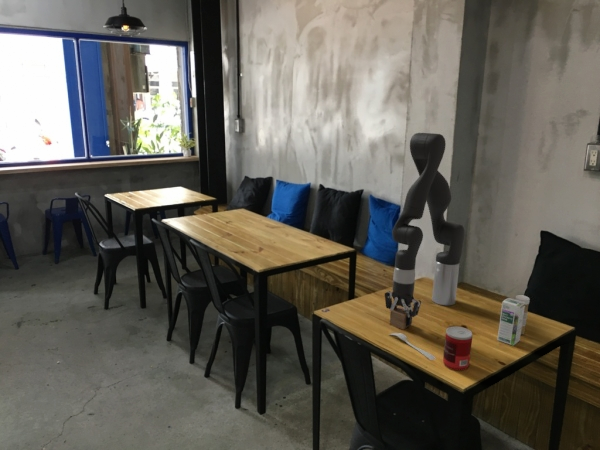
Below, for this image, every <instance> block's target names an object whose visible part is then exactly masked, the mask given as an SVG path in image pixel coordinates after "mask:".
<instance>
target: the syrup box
mask: <svg viewBox="0 0 600 450" xmlns="http://www.w3.org/2000/svg"><path fill="white" fill-rule="evenodd" d="M524 308H525V302H522V301H518V300H515V298H511V297H508V298H506V299H504V300H503V301H502V302H501V309H500V316H499V317H500V318H499V326H498V333H497V342H498V341H499V342H501V343H504V344H507V345H510V346H512V347H514V346H516V344H517V343H518V342H520V339H521V335H522V334H521V328H522V322H523V315H524Z"/></svg>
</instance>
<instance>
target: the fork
mask: <svg viewBox="0 0 600 450" xmlns="http://www.w3.org/2000/svg"><path fill="white" fill-rule="evenodd" d="M389 335H390V336H397V337H398V339H400V340H402V341H403V342H405V343H406V344H407V345H409V346H410V347H412V348H413V349H415V350H417V351H418V352H419V353H421V354H422V355H423V356H425V357H426V358H427V359H428V360H430V361H433V360H436V359H437V358H436V357H435V356H434V355H433V354H431V353H430V352H428V351H426V350H424V349H421V348H419V347H417V346H416V345H413V344H412V343H410V342H409V341H408V337H407V335H406V334H404V333H400V332H393V333H390V334H388V336H389Z"/></svg>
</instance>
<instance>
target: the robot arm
mask: <svg viewBox="0 0 600 450" xmlns="http://www.w3.org/2000/svg"><path fill="white" fill-rule="evenodd" d="M409 150H410V155H411V159H412V161H413V162H414V165H415V167H416V171H417V173H418V175H419V177H418V178H417V179H416V180H415V181H414V182H413V184H412V185H411V186H410V187H409V189H408V191H407V193H406V196H405V199H404V204H403V208H402V211H401V213H400V215H399V217H398V219H397V221H396V222H395V224H394V226H393V228H392V232H391V233H392V234H391V237H392V240H394V242H395V243H397V244H401V245H405V246H407V248H406V249H400V250H398V251H396V253H395V260H394V262H395V263H394V271H393V275H392V277H393V278H392V292H391V290H388V291H387V292H385V293H384V299H385V308H386V309H389V311H390V312H391V311H392V310H394V309H395V308H397V307H402V308H404V310H405V311H406V315H407V317H406V326H408V327H410V326H411V325H412V322H413V318H414V317H416V316H418V314H419V311H420V307H421V303H422V301H421V300H417V299H415V297H414V292H415V281H416V280H415V279H416V261H417V260H416V259H417V256H418V253H419V250H420V247H421V245H422V243H423V240H424V239H423V238H424V233H423V230H422V229H421V228H420V227H419V226H416V225H411V224H410V223H411V222H412V221H413V220H421V219H422V218H423V216H424V213H425V207H426V204H427V207H428V210H429V214H430V215H429V216H430V219H431V220H430V221H431V228H432V235H433V238H434V240H435V242H436V243H438V244H441V245H443V246H444V245H445V246H447V247H449V248H448V250H447V251H440V252H438V253H436V254H435V255H436V256H435V265H434V276H433V286H432V295H431V296H432V297H431V300H432V302H433V303H435V304H437V305H440V306H453V305H455V304H456V299H457V297H456V296H457V290H458V280H459V272H460V271H459V269H460V260H461V257H462V254H463V253H462V252H463V246H464V240H465V233H466V232H465V227H464V226H463V225H462V224H460V223H456V222H451V221H450V222H449V221H446V219H445V212H446V210H447V209H448V207H449V206H450V204H451V202H452V201H451V200H452V193H451V189H450V185H449V182H448V181H447V179H446V178H445V176H443V175H444V174H442V173H441V172H440V171H439V167H440V166H441V165H440V164H441V162H442V161H443V157H444V154H445V151H446V139H445V137H444V135H442V134H440V133H431V132H429V133H427V132H418V133H414V134H413V135H412V136H411V137H410V142H409ZM392 300H393V301H392ZM389 314H390V315H389V316H390V318H391V313H389ZM409 325H410V326H409Z"/></svg>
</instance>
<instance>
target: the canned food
mask: <svg viewBox="0 0 600 450" xmlns="http://www.w3.org/2000/svg"><path fill="white" fill-rule="evenodd" d="M472 342H473V332H472V331H471V330H470V329H468V328H465V327H463V326H449V327H447V328H446V331H445V339H444V347H443V348H444V349H443V355H442V362H443V364H444V366H445V367H447V368H448V369H450V370H453V371H464V370H467V369H468V368H469V366H470V359H471V352H472V351H471V350H472Z"/></svg>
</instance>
